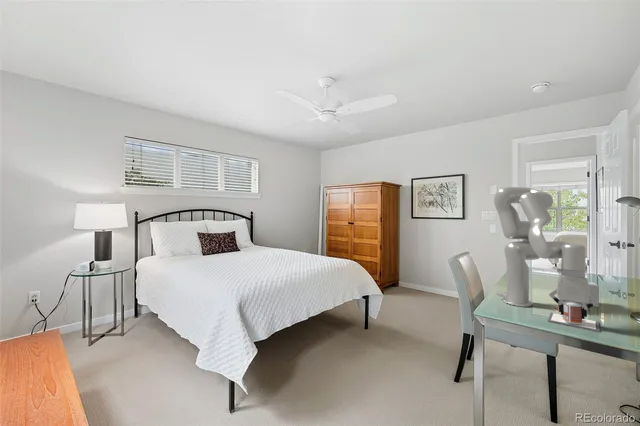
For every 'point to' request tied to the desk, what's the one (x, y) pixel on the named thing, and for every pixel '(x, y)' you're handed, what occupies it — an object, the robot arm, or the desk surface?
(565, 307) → the pill bottle
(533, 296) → the desk surface
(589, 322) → the writing mat
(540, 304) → the desk surface
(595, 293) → the small box
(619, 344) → the desk surface
